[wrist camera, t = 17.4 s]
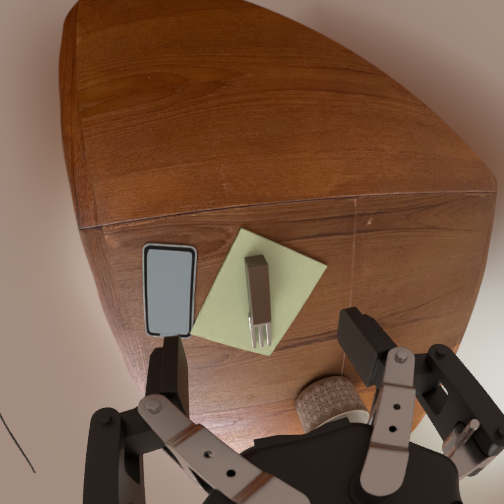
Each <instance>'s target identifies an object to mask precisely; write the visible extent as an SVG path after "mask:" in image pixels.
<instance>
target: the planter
mask: <svg viewBox="0 0 504 504" xmlns="http://www.w3.org/2000/svg"><path fill="white" fill-rule="evenodd" d="M295 408H296V411H297V414H298V416H299V419H300V422H301V425H302V427H303V430H304V433H305V434H306V433H308V432H310V431H312V430H314V429H316V428H318V427H320V426H322V425H324V424H325V423H328V422H332V421H335V420H339V419H342V418H345V417H348V419H349V421H350V423H351V422H359V423H366V424H367V422H368V418H369V415H370V414H369V412H368V410H367V408H366V407H365V405H364V403H363V401H362V400H361V398H360V396H359V394H358V393H357V391H356V389H355V387H354V386H353V384H352V382H351V381H350V380H349V379H348V378H346V377H343V376H332V377H327V378H324V379H321V380H318V381H316V382H314V383H312V384H311V385H309V386H308V387H306V388H305V389H304V390H303V391H302V392H301V393H300V394H299V396H298V397H297V399H296V402H295Z"/></svg>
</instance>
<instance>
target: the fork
mask: <svg viewBox="0 0 504 504" xmlns="http://www.w3.org/2000/svg"><path fill="white" fill-rule="evenodd" d="M244 262H245V272H246V283H247V293H248V302H249V312H250V313H248V322H249V326H250V335H251V344H252V348H253V349H254V348H256V339H255V329H254V327H258V338H259V345H260V347H264V343H263V329H262V326H265V329H266V343H267V346H271V331H270V324H271V322H272V321H271V303H270V285H269V268H268V263H267V261H266V259H265V257H264V255H256V256H249V257H244Z"/></svg>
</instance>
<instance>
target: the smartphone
mask: <svg viewBox="0 0 504 504" xmlns="http://www.w3.org/2000/svg"><path fill="white" fill-rule="evenodd" d="M196 261H197V251H196V249H195V248H194V247H193V246H189V245H174V244H158V243H157V244H156V243H148V244H146V245H145V246H144V247H143V298H144V318H145V331H146V333H147V334H148V335H149V336H152V337H166V336H176V335H180V337H181V338H185V339H187V338H190V337H191V336H192V334H190V332H191V330H192V328H193V318H194V293H195V276H196Z"/></svg>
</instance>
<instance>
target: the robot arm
mask: <svg viewBox="0 0 504 504" xmlns="http://www.w3.org/2000/svg"><path fill="white" fill-rule="evenodd" d="M337 337H338V341H339V344H340V346H341V347H342V349H343V350H344V352H345V353H346V355H347V357H348V358H349V360H350V361H351V363H352V364H353V366H354V368H355V369H356V371H357V372H358V374H359V376H360V377H361V379H362V380H363V382H364V383H365V385H366V387H369V386H372V385H375V386H376V387H377V388H376V391H375V395H374V399H373V403H372V407H371V411H370V415H369V418H368V422H367V424H366V423H359V422H351V423H350V421H349V419H348V417H345V418H342V419H339V420H335V421H332V422H328V423H325V424H324V425H322V426H320V427H318V428H316V429H314V430H312V431H310V432H308V433H306V434H303V435H276V436H271V437H266V438H260V439H254V446H253V447H250V448H248V449H246V450H245V451H243V452H242V453H240V454H238V453H237V452H235V451H234V450H233V449H231V448H230V447H229V446H228V445H226V444H225V443H224V442H222V441H221V440H220V439H219V438H217V437H216V436H215V435H214V434H213V433H211V432H210V431H209V430H208V429H207V428H205V427H204V426H203V425H201V424H197V425H196V424H195V423H193V422H192V421H191V420H190V419H189V394H188V366H187V360H186V356H185V352H184V349H183V345H182V341H181V337H180V335H176V336H166V337H164V343H163V347H161V348H155V349H154V351H153V352H152V354H151V355H150V361H149V368H148V376H147V384H146V393H145V397H144V398H143V399H142V400H141V401H140V402H139V405H138V406H137V407H136V408H134V409H131V410H128V411H125V412H121V413H119V412H118V411H117V410H115V409H113V408H102V409H99V410H98V411H96V412H95V413H94V414H93V416H92V418H91V422H90V430H89V436H88V444H87V453H86V463H85V474H84V489H83V504H146V502H145V488H144V470H143V454H144V453H148V452H151V451H154V450H157V449H162V450H163V451H164V452H165V453H166V454H167V455H168V456H169V457H170V458H171V459H172V460H173V461H174V462H175V463H176V464H177V465H178V466H179V467H180V468H181V469H182V470H183V471H184V472H185V473H186V474H187V475H188V477H189V478H190V479H191V480H192V481H193V482H194V483H195V484H196V485H197V486H198V487H199V488H200V489H201V490H203V491H204V492H205V493H206V494H207V495H208V497H207V498H206V500H205V501H204V502H203V504H463V503H462V500H461V497H460V492H459V480H461V479H463V478H464V477H466V476H474V475H476V474H478V473H479V472H480V471H481V470H482V469H483V468H484V467H486V466H487V465H488V464H489V463H490V462H491V461H492V460H493V459H494V458H495V457H496V456H497V455H498V454H499V453H500V452H501V451H502V450H503V449H504V414H503V413H502V412H501V410H500V409H499V408H498V407H497V405H496V404H495V403H494V401H493V400H492V399H491V397H490V396H489V395H488V394H487V392H486V391H485V390H484V389H483V387H482V386H481V385H480V384H479V382H478V381H477V380H476V379H475V377H474V376H473V375H472V374H471V373H470V371H469V370H468V369H467V368H466V367H465V366H464V364H463V363H462V362H461V361H460V359H459V358H458V357H457V356H456V355H455V354H454V353H453V351H452V350H451V349H450V348H449V347H447V346H445V345H442V344H435V345H432V346H431V347H430V348H429V351H428V353H424V354H413V352H412V351H411V350H409V349H407V348H404V347H397V345H396V344H395V343H394V342H393V341H392V340H391V338H390V337H389V336H388V335H387V334H386V332H385V331H383V329H382V328H381V327H380V326H379V324H378V323H377V322H376V321H375V320H374V319H373V318H372V317H370V316H368V315H366V314H363V315H362V313H361V312H360V311H359V310H358V309H357V308H356V307H351V308H347V309H342V310H341V311H340V316H339V324H338V332H337ZM440 383H442V385H443V386H444V388H446V390H447V392H448V395H447V394H446V392H445V391H444V390H443V388H442V387H441V385H440ZM415 396H416V398H417V399H418V401H419V402H420V404H421V406H422V407H423V409H424V410H425V412H426V413H427V415H428V417H429V418H430V420H431V422H432V423H433V425H434V426H435V428H436V430H437V431H438V433H439V435H440V436H441V438H442V440H443V441H444V442H443V446H442V450H443V452H444V453H443V454H441V453H438V452H435V451H433V450H430V449H427V448H425V447H422V446H420V445H417V444H415V443H412V442H410V441H409V439H410V433H411V427H412V420H413V412H414V404H415ZM0 418H1V420H2V422H3V423H4V425H5V427H6V429H7V430H8V432H9V434H10V435H11V437H12V438H13V440H14V442H15V443H16V445H17V446H18V448H19V449H20V451H21V452H22V454H23V455H24V457H25V458H26V460H27V461H28V463H29V465H30V466H31V468H32V470H33V472H34V473H35V471H34V469H33V467H32V465H31V463H30V462H29V460H28V458H27V457H26V455H25V454H24V452H23V451H22V449H21V448H20V446H19V445H18V443H17V441H16V440H15V438H14V437H13V435H12V433H11V432H10V430H9V428H8V427H7V425H6V424H5V421H4V419H3V418H2V416H1V413H0Z"/></svg>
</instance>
